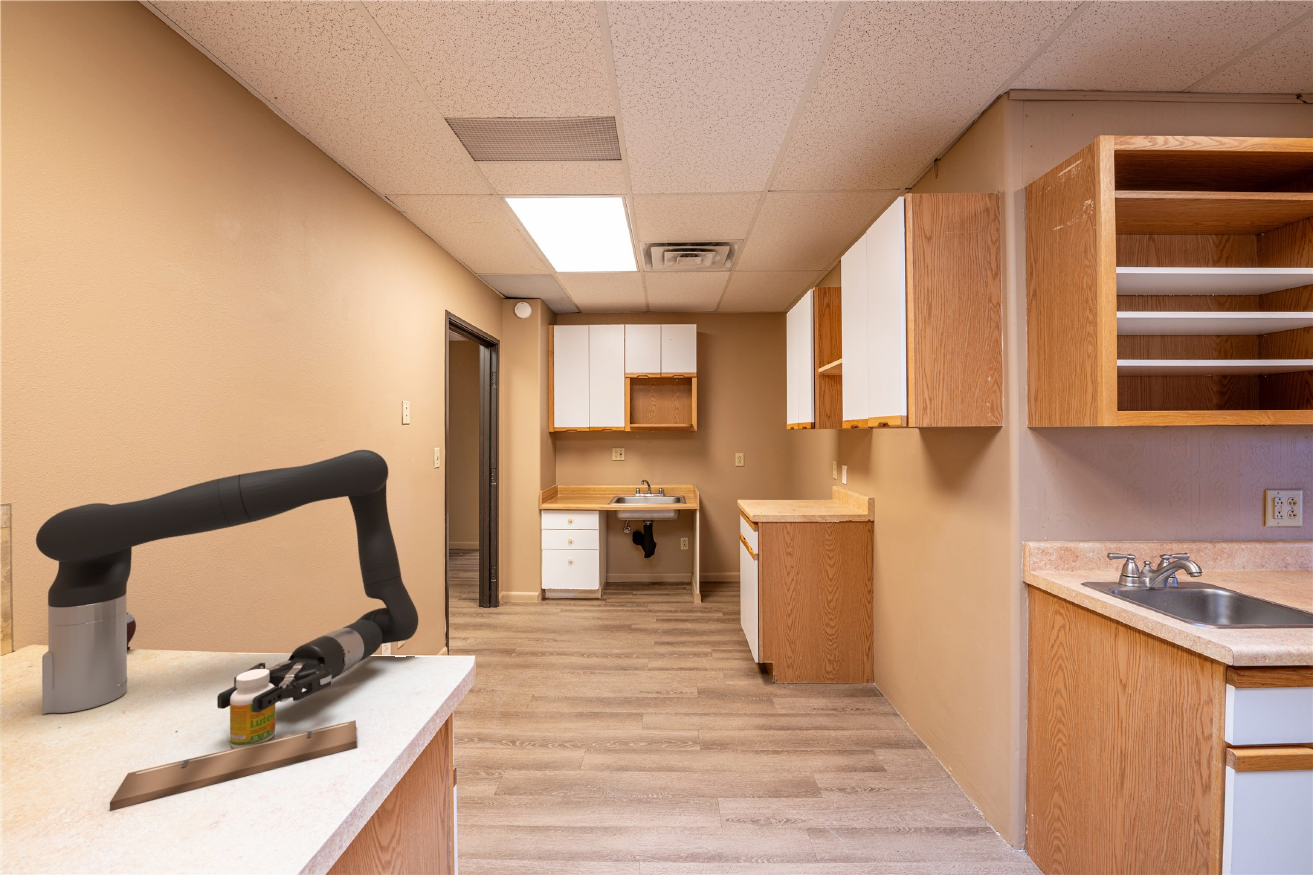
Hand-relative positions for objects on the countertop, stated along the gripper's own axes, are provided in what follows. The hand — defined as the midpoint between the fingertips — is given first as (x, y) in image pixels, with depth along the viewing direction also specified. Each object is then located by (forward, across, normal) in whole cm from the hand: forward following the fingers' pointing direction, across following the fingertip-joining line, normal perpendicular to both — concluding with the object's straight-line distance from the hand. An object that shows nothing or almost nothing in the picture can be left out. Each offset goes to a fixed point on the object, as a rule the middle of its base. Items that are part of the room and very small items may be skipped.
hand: (237, 703), depth 78 cm
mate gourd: (-23, -57, +7) cm, 62 cm away
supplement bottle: (-3, 0, +7) cm, 7 cm away
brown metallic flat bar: (+3, +4, +6) cm, 8 cm away
